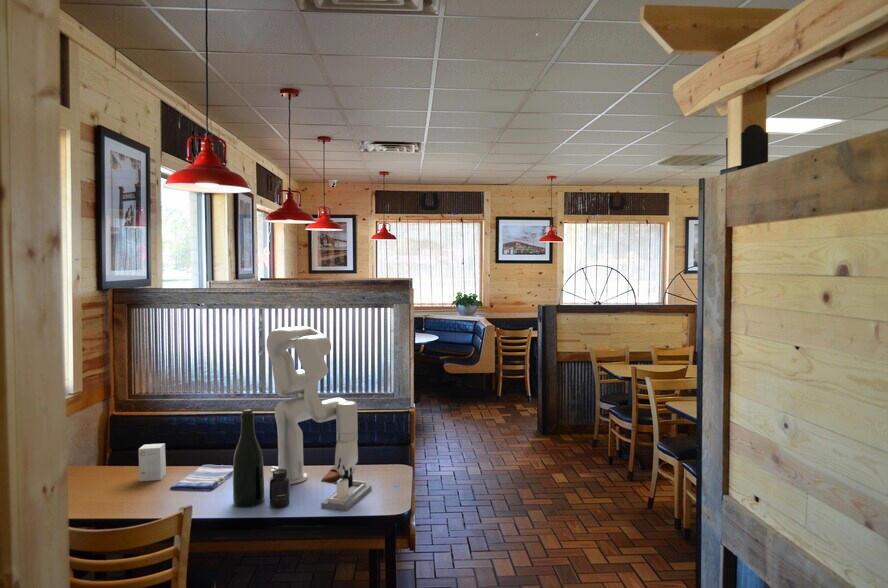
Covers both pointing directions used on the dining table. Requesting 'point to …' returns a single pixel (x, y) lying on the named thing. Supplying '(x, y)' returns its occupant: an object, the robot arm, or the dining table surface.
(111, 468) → the dining table surface
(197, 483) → the dish towel
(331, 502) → the fader console
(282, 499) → the supplement bottle
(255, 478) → the beer bottle
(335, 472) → the sunglasses case
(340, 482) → the fader knob
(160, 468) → the small box
